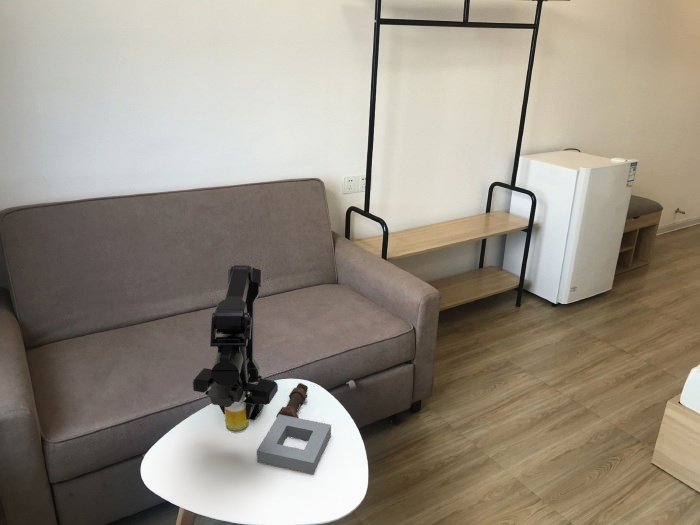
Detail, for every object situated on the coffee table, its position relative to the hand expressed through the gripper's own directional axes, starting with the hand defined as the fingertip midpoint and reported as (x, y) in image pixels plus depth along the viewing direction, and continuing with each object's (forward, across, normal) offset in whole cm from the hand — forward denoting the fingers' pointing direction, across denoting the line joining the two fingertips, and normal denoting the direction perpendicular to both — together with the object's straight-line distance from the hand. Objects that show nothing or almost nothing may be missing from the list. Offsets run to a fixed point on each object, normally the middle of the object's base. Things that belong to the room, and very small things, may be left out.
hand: (237, 416), depth 134 cm
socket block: (+12, +12, +6) cm, 18 cm away
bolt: (+12, +7, +21) cm, 25 cm away
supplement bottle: (+3, 0, 0) cm, 3 cm away
